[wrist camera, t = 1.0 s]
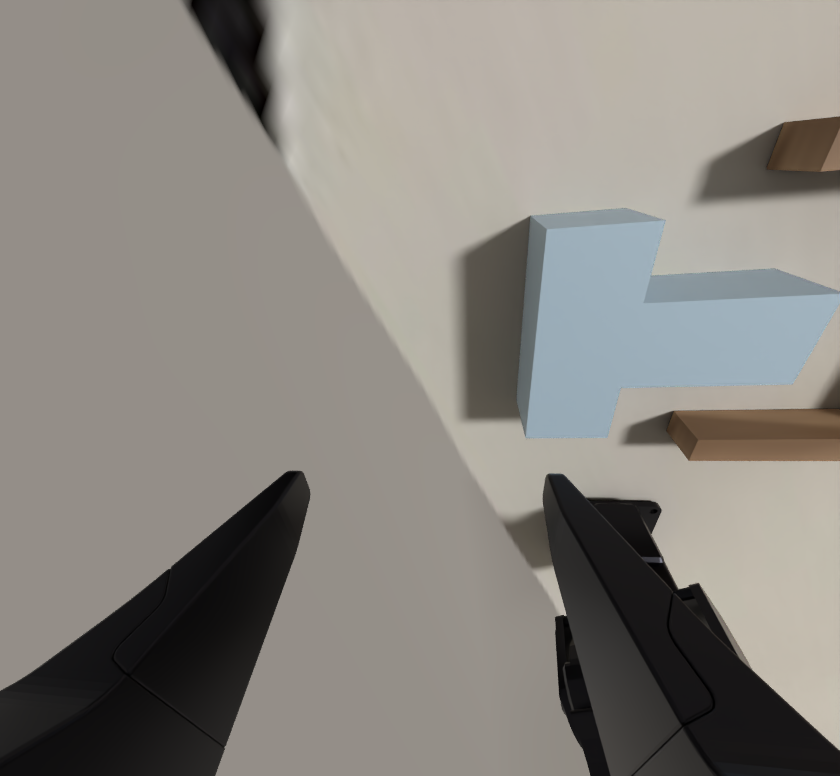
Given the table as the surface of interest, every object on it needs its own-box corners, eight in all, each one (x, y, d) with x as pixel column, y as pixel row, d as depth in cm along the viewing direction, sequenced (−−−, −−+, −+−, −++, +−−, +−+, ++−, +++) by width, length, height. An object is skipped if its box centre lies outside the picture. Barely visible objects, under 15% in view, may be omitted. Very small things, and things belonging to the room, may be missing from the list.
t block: (717, 395, 20) (761, 437, 17) (516, 399, 21) (525, 438, 18) (808, 193, 14) (898, 202, 11) (530, 215, 16) (547, 229, 13)
